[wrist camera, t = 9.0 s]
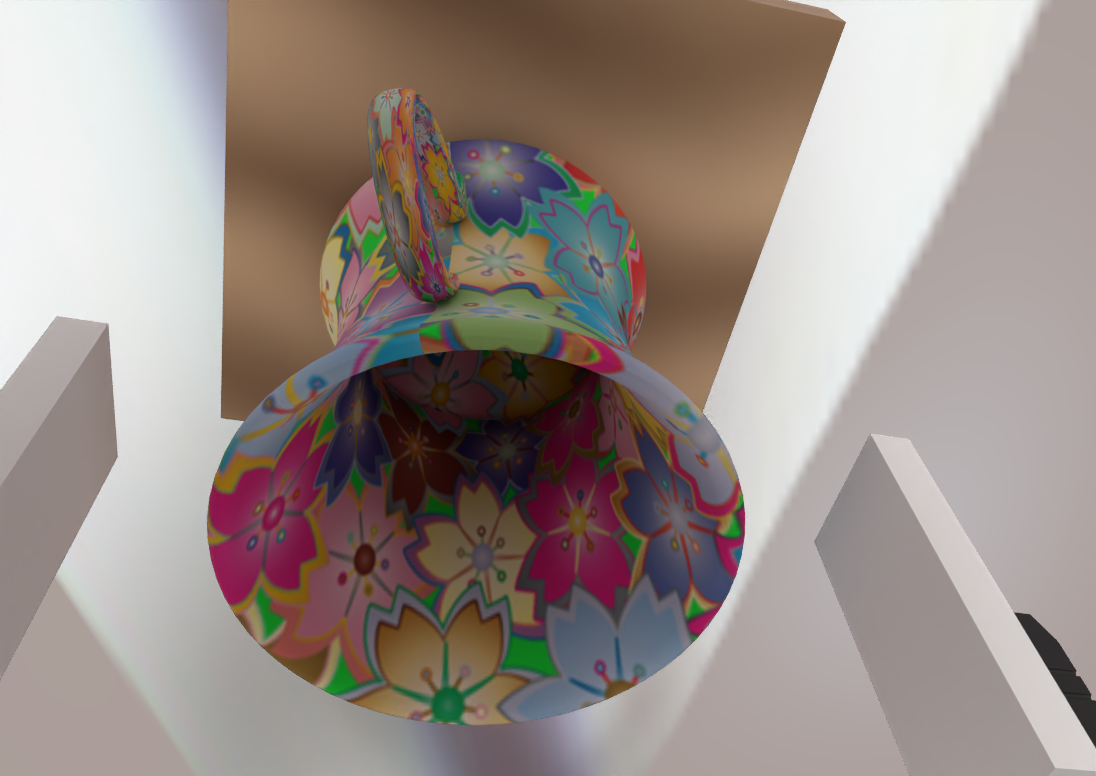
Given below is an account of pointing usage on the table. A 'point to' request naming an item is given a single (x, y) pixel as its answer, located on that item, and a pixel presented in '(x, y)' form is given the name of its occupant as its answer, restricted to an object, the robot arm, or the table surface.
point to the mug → (476, 452)
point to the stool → (522, 117)
